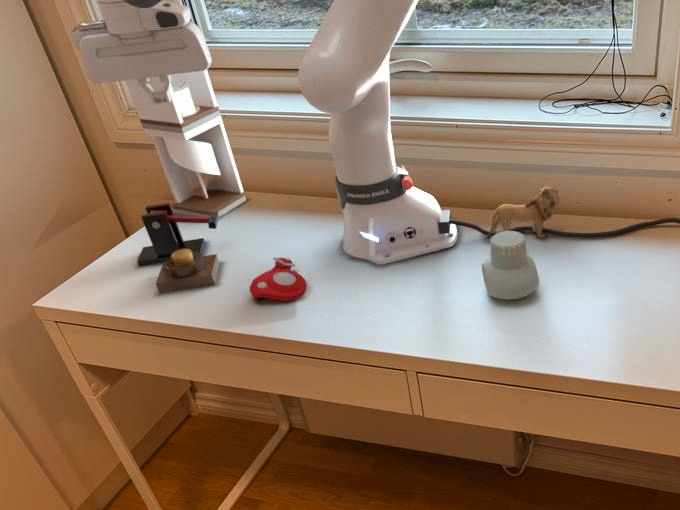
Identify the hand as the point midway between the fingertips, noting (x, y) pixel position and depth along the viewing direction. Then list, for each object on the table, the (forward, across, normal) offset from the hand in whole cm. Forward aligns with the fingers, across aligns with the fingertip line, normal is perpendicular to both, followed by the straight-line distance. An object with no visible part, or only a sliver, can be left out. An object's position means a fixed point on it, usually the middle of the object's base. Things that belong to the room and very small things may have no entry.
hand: (162, 102), depth 123 cm
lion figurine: (+29, +61, -14) cm, 69 cm away
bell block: (+29, -3, -11) cm, 31 cm away
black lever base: (+29, -8, 0) cm, 30 cm away
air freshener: (+29, +54, -33) cm, 70 cm away
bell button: (+25, -3, -11) cm, 28 cm away
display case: (+29, -3, +21) cm, 36 cm away
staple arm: (+23, -4, 0) cm, 24 cm away
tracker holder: (+29, +15, -20) cm, 39 cm away
